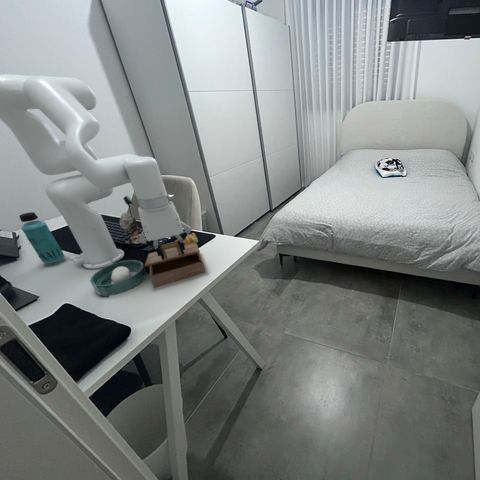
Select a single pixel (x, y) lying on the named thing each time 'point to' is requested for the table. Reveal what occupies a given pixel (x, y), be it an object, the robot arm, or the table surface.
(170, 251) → the egg box lid
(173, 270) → the brown wooden box base
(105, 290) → the bowl
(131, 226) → the plant with pod
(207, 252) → the table surface
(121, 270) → the egg
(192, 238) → the pastry
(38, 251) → the beverage bottle
